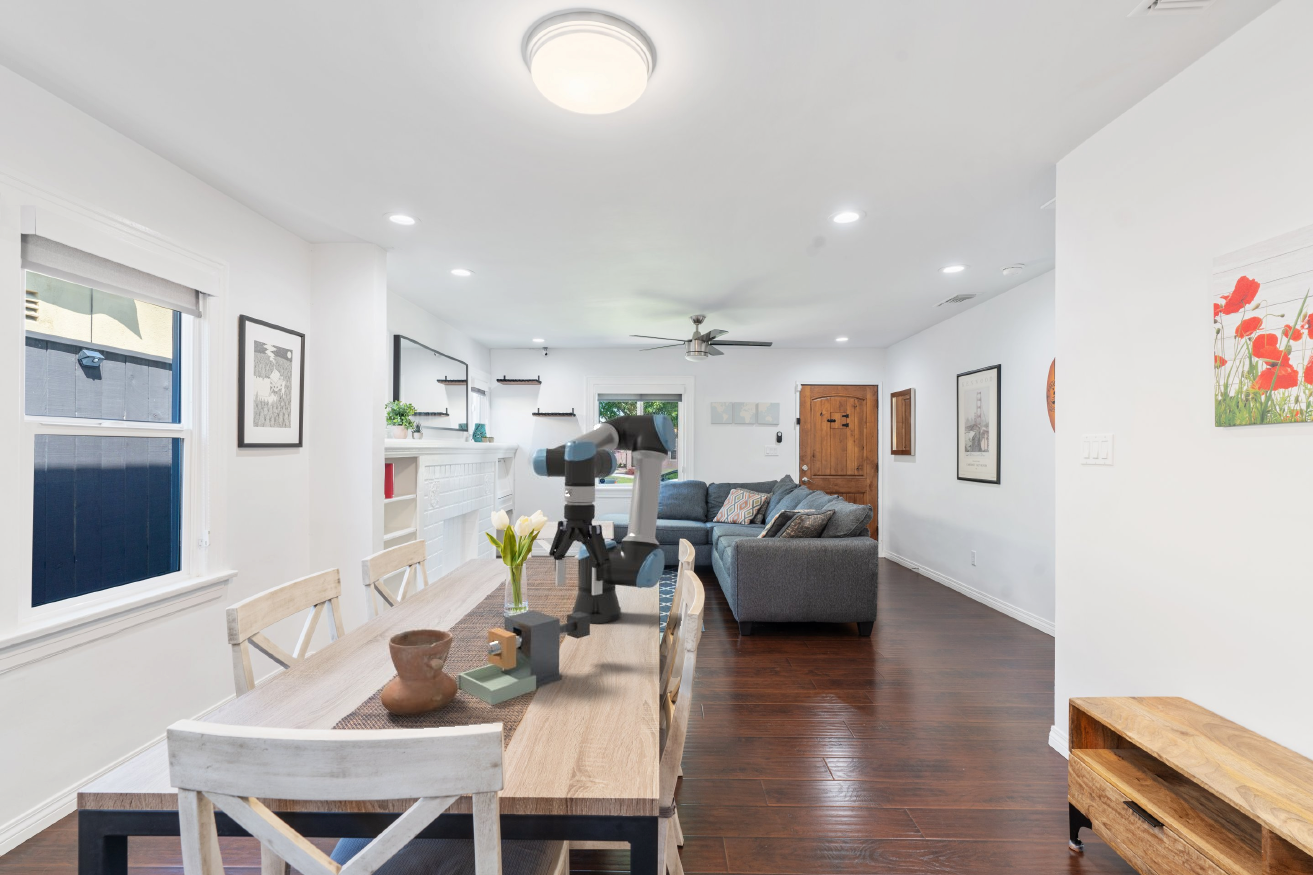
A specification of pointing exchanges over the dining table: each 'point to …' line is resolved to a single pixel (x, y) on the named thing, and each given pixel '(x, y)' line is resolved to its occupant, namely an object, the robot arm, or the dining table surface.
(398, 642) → the ceramic jug
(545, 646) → the bearing block
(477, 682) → the tray
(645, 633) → the dining table surface
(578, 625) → the shaft
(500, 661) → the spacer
